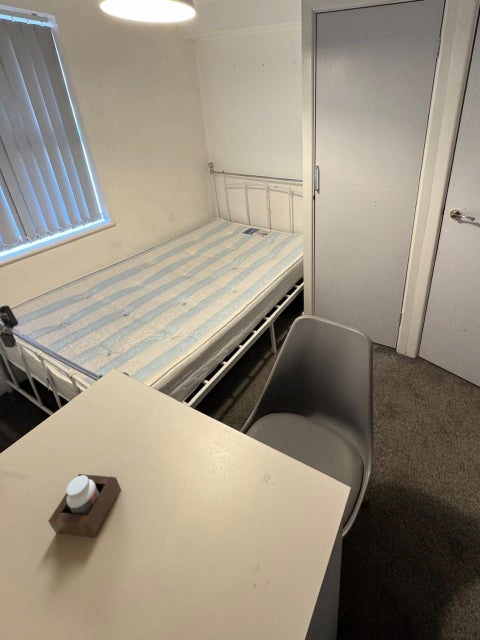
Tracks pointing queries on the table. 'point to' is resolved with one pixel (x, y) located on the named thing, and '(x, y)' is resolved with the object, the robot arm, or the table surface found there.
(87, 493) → the pill bottle
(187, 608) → the table surface
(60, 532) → the holder
